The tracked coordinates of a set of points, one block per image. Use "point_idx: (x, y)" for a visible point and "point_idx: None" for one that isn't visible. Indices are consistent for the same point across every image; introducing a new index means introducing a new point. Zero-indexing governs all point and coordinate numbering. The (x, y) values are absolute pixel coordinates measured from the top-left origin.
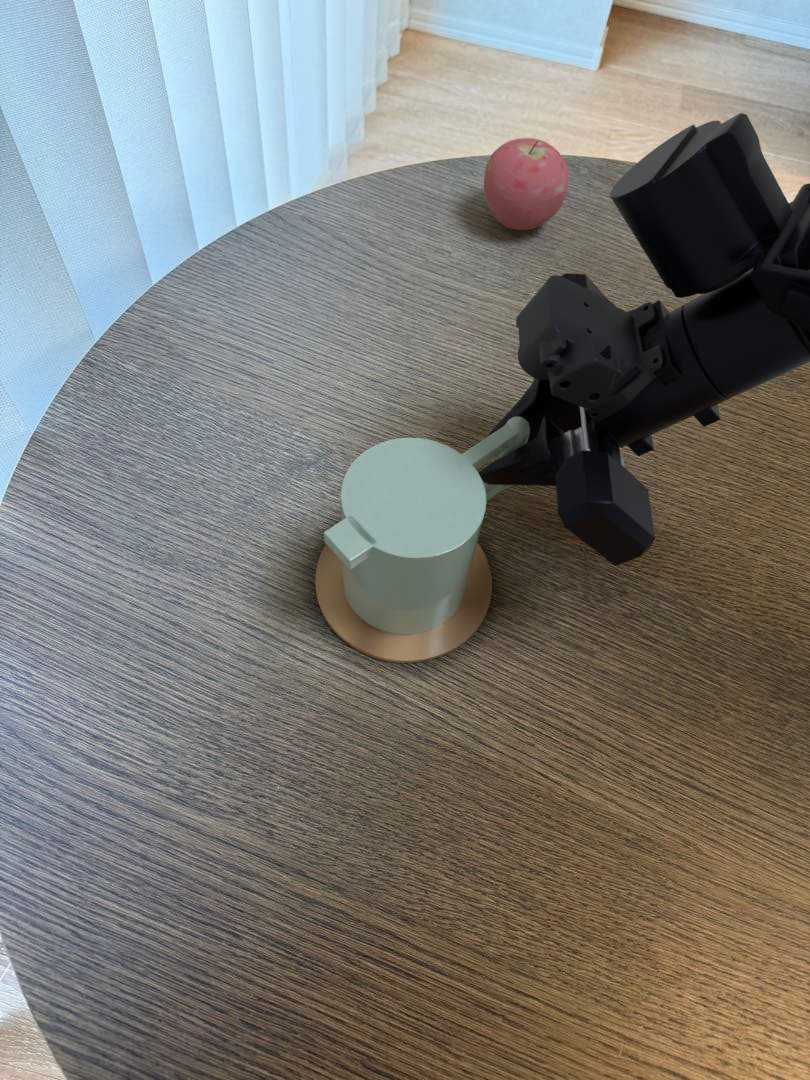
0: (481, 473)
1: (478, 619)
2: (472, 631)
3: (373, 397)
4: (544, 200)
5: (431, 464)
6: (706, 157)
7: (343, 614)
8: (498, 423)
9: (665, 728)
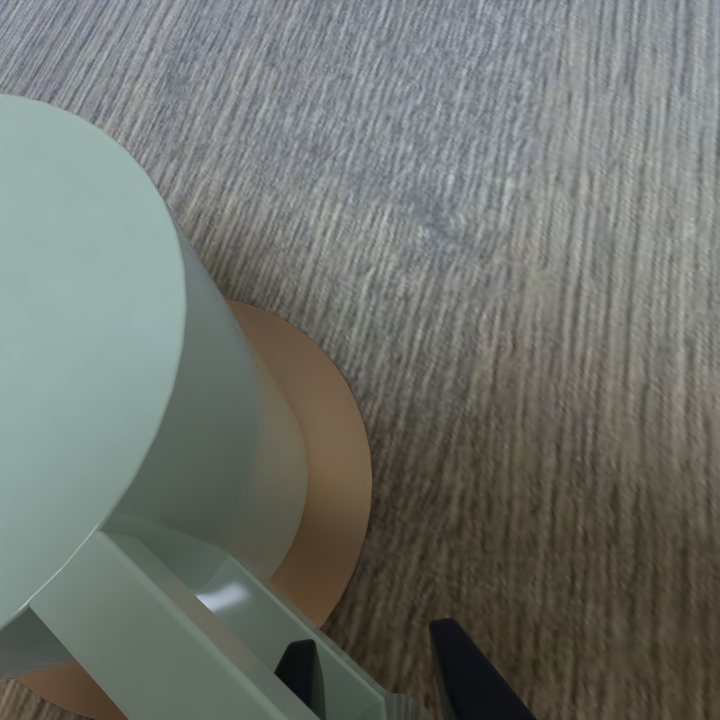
0: (291, 652)
1: (58, 694)
2: (27, 682)
3: (682, 306)
4: None
5: (22, 387)
6: None
7: None
8: (525, 712)
9: None
